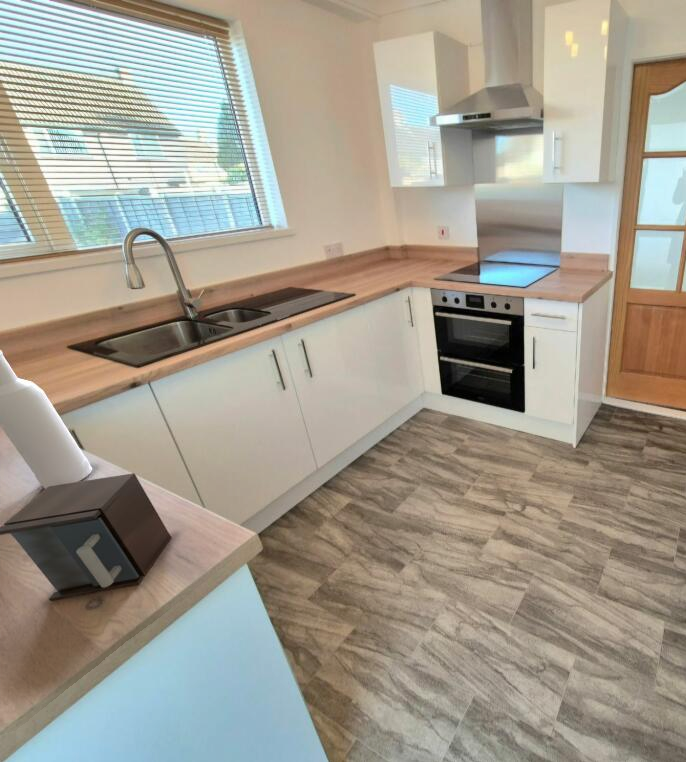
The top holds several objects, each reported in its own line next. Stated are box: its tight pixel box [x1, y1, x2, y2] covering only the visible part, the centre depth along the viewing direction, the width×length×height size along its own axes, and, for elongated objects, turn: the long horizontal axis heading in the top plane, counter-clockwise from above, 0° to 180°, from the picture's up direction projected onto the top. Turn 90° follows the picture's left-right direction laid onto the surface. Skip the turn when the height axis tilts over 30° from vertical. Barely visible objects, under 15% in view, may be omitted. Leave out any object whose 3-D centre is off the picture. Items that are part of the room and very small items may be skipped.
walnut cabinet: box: [0, 472, 172, 602], centre depth 65 cm, size 12×10×14 cm
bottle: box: [0, 349, 93, 490], centre depth 84 cm, size 8×8×30 cm
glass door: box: [51, 518, 139, 588], centre depth 61 cm, size 6×4×12 cm, turn 101°
